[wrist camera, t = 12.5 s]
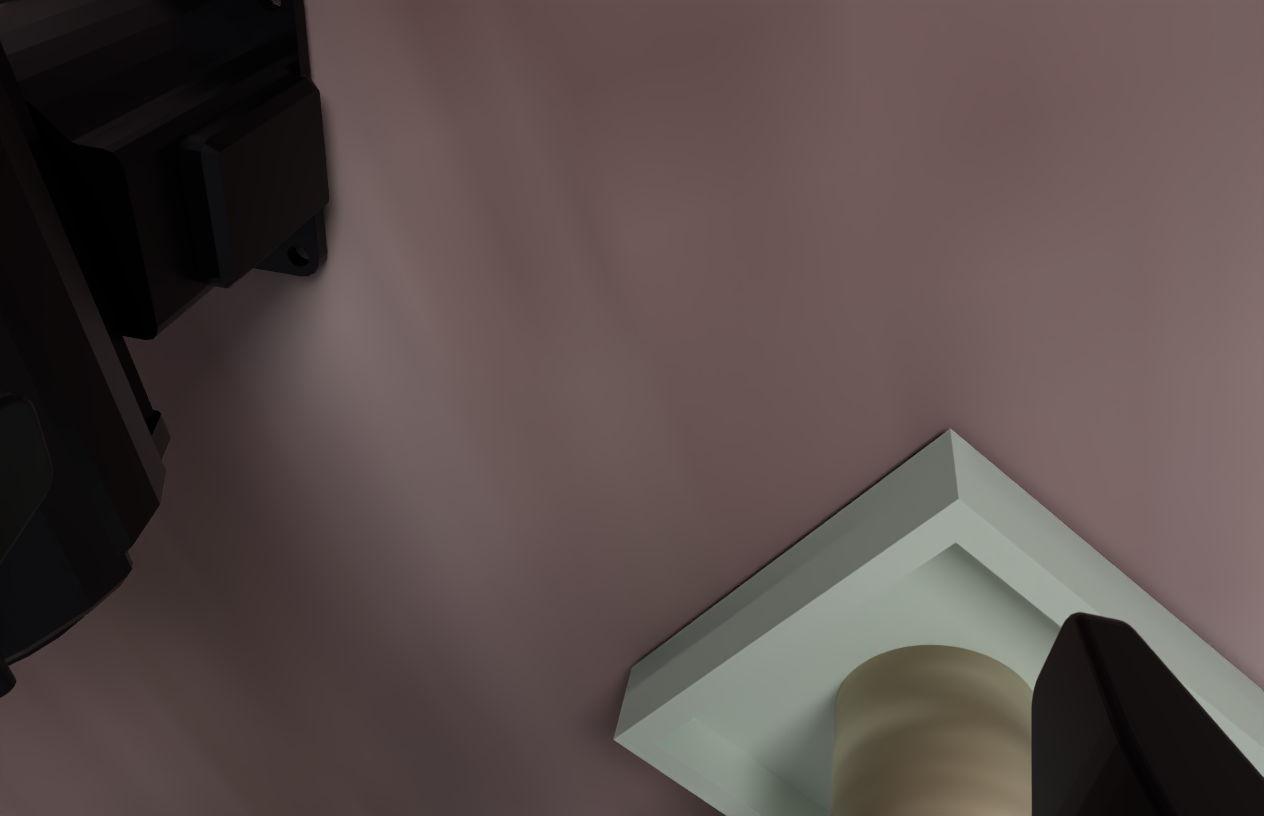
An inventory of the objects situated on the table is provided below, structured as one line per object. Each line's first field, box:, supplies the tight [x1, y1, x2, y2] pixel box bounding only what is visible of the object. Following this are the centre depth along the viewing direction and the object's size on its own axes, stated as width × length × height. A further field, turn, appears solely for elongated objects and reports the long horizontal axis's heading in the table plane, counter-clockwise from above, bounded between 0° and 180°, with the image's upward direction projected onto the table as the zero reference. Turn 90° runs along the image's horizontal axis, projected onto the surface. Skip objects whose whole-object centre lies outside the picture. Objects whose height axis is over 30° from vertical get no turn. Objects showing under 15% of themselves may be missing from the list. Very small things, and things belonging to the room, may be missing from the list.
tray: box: [613, 429, 1264, 816], centre depth 26 cm, size 12×12×2 cm
